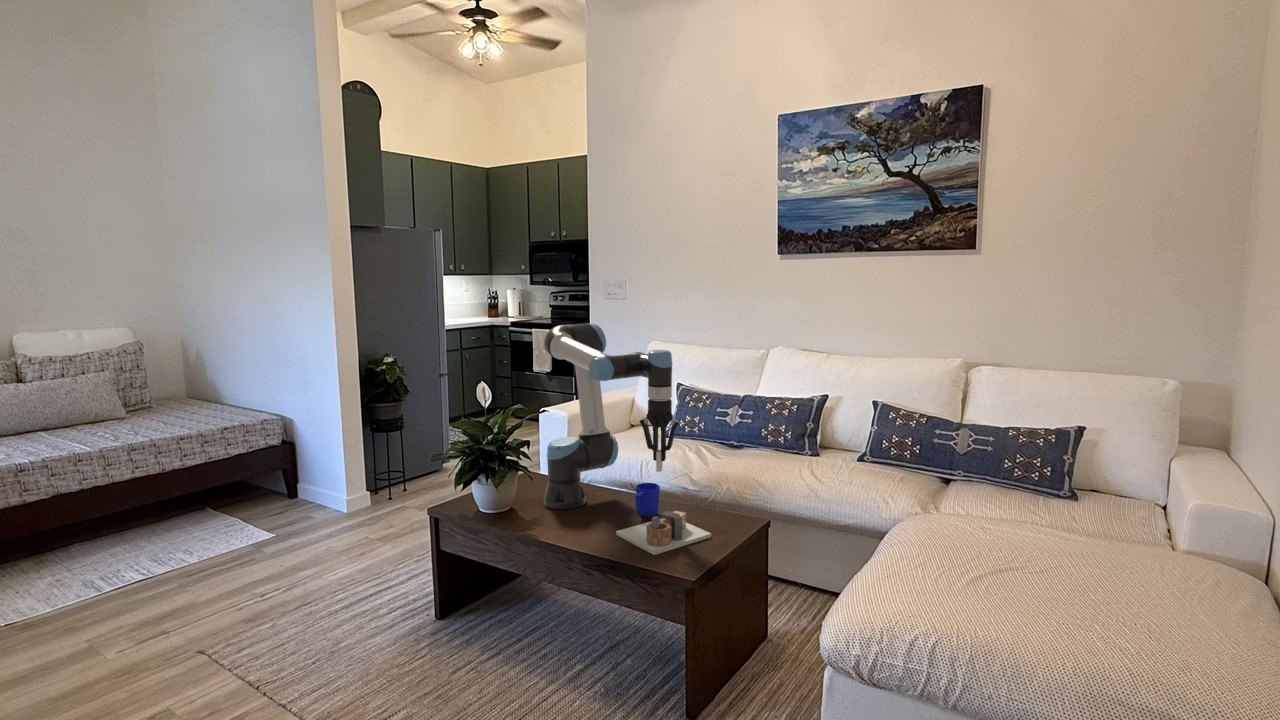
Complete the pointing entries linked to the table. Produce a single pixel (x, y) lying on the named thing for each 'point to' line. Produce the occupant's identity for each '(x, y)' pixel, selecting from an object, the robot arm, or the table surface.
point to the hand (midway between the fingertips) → (659, 470)
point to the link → (663, 531)
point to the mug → (647, 499)
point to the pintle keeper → (675, 523)
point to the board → (639, 538)
